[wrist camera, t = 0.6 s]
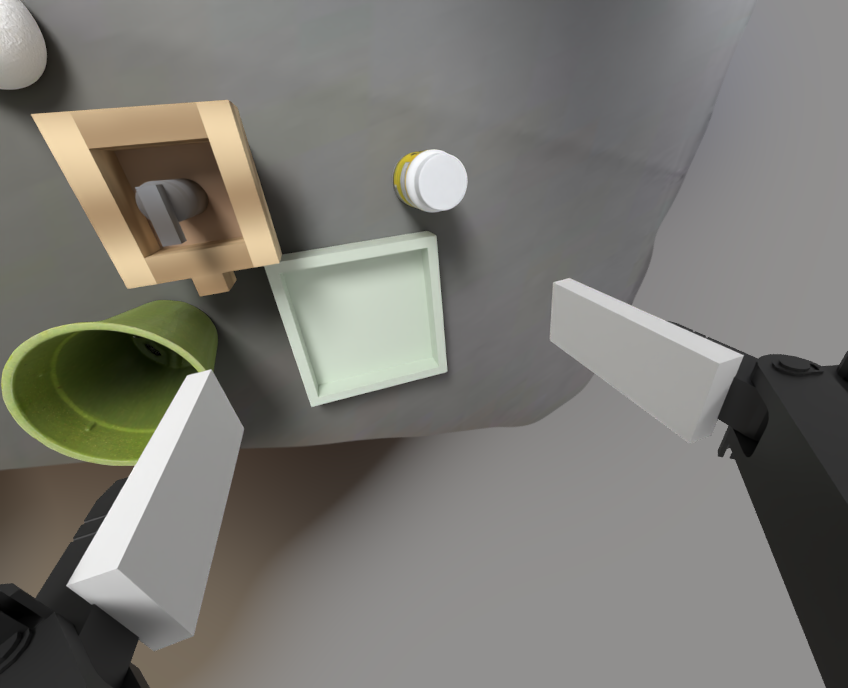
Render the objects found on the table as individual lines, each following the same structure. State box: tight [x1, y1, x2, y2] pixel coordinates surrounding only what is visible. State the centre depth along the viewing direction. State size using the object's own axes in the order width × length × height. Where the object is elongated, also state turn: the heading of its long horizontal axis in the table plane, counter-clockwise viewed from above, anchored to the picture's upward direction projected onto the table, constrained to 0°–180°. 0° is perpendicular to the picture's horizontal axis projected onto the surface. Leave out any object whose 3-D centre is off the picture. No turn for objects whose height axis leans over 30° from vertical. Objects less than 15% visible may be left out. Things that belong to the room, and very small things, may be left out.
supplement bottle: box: [392, 149, 468, 212], centre depth 29 cm, size 5×5×8 cm
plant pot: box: [1, 300, 218, 466], centre depth 28 cm, size 12×12×11 cm
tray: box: [264, 231, 447, 407], centre depth 36 cm, size 16×16×3 cm
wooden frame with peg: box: [31, 100, 282, 296], centre depth 23 cm, size 11×10×3 cm
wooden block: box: [114, 142, 243, 249], centre depth 24 cm, size 8×8×11 cm
